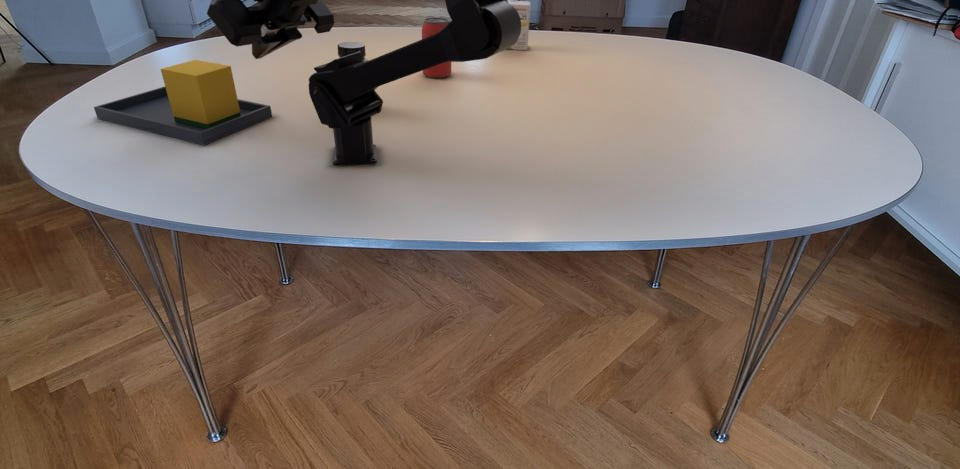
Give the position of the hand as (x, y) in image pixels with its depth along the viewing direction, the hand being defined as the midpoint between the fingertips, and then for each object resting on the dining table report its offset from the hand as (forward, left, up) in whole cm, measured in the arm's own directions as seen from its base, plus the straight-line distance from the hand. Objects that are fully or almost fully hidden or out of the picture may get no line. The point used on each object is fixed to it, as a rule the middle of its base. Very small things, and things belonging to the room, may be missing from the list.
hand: (255, 56), depth 83 cm
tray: (+10, +16, -13) cm, 23 cm away
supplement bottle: (+12, -14, -13) cm, 22 cm away
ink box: (+61, -56, -13) cm, 84 cm away
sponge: (+7, +11, -12) cm, 18 cm away
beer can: (+35, -32, -13) cm, 49 cm away
